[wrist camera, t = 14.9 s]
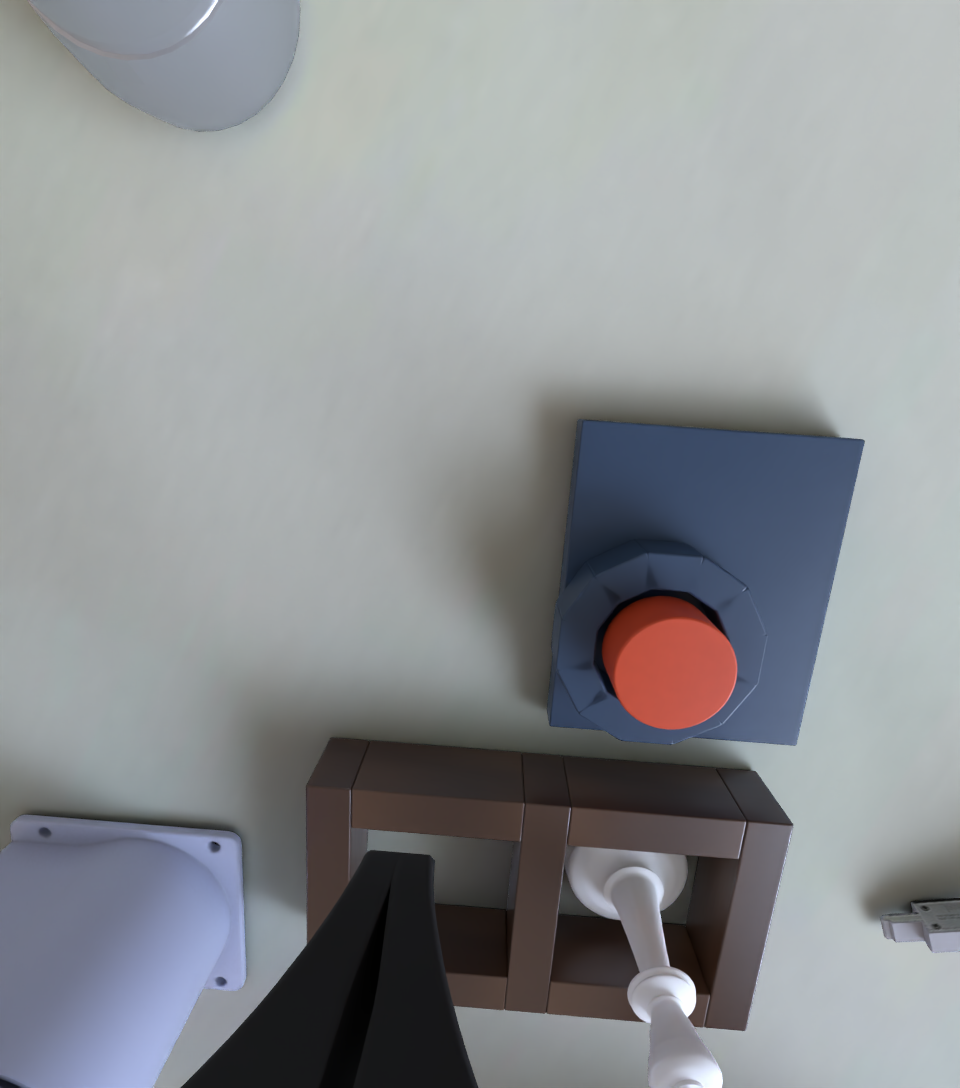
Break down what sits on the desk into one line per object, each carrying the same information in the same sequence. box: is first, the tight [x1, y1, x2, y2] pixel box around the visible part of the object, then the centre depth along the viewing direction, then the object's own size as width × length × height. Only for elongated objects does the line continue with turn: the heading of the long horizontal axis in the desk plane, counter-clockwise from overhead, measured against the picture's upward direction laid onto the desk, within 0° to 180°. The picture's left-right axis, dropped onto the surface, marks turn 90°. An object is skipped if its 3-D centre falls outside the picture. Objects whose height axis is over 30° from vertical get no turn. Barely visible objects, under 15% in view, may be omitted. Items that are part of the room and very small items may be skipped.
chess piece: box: [564, 845, 723, 1088], centre depth 19 cm, size 5×5×10 cm
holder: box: [306, 738, 793, 1031], centre depth 22 cm, size 17×9×3 cm, turn 86°
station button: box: [602, 596, 737, 729], centre depth 17 cm, size 4×4×2 cm
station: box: [547, 419, 865, 745], centre depth 19 cm, size 9×11×3 cm
